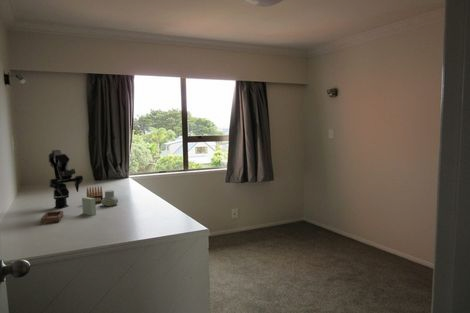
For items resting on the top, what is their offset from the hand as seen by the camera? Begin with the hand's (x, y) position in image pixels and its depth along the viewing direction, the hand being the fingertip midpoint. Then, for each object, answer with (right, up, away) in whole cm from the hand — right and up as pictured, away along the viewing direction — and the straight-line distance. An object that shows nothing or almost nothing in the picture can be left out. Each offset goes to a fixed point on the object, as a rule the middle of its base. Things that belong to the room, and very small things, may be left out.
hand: (70, 192), depth 204 cm
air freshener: (+16, -11, +23) cm, 30 cm away
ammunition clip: (+3, -11, +31) cm, 33 cm away
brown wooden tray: (-4, -14, -11) cm, 19 cm away
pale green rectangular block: (+12, -13, +1) cm, 18 cm away
